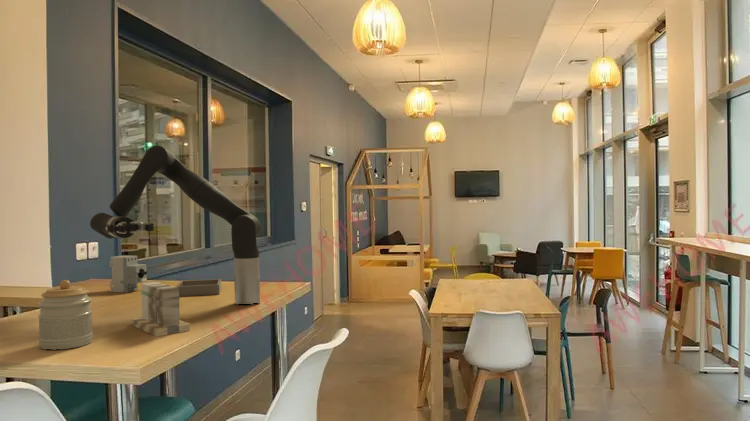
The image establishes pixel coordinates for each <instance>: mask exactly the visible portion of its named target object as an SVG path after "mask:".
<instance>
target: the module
mask: <svg viewBox="0 0 750 421" xmlns="http://www.w3.org/2000/svg"><path fill="white" fill-rule="evenodd" d="M160 284H163V283H162V282H157V281H152V282H141V284H140V285H141V289H140V292H141V317H142V318H143V319H145V320H148V321H149V286H151V285H160Z"/></svg>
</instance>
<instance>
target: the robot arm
mask: <svg viewBox="0 0 750 421" xmlns="http://www.w3.org/2000/svg"><path fill="white" fill-rule="evenodd" d="M156 173H159V174H160V175H162V176H164V177H166V178H167V179H169V180H171V181H172V182H174V184H175V185H177V186H178V187H179V189H180V190H182V192H183V193H184V194H185V195H186V196H187V197H188V198H189V199H190V200H192V201H193V202H194V203H196V205H198V206H199V207H201V208H203V209H204V210H205V211H208V212H209V213H211V214H214V215H215V216H218V217H219V218H221V219H223V220H224V221H226V222H227V223H228V224H230V226H231V229H230V230H231V231H230V232H231V233H230V235H231V248H232V252H233V263H234V266H233V267H234V268H233V269H234V270H233V271H234V304H235V305H238V304H251V305H254V304H253V303H258V304H261V284H260V283H261V280H260V250H259V248H258V245H257V236H258V235H260V233H261V230H262V226H261V222H260V220H259V219H258V217H256V216H255V215H254V214H251V213H250V212H249V211H246V210H245V209H244V208H242V207H240V206H239V205H237V204H236V203H235V202H234V201H233V200H231V199H230V198H229V197H228V196H227V195H226V194H224V192H222V191H221V190H219V188H217V186H215V185H214V184H212V183H211V182H210V181H209V180H207V179H206V178H204V177H203V176H201V175H199V174H198V173H196V172H194V171H192V170H191V169H190V168H188V167H187V166H186V165H185V164H183V163H182V162H181V161H180V160H179V159H178V158H177V157H176V156H175V155H174V154H173V153H172V152H171V151H170V150H169V149H167V148H166V147H164V146H162V145H153V146H151V147H149V148H148V149H147V151H146V152H145V153H144V155H143V157H142V158H141V161H140V163H139V164H138V165H137V167H136V169H135V170H134V172H133V174H132V175H131V177H130V178H129V180H128V182H127V183H126V184H125V186H124V187H123V188H122V190H120V192H119V193H118V195H116V197H115V198H114V199H113V201H112V202H111V203H110V205H109V209H110V210H111V211H112V212H113V213H114V215H116V216H112V215H110V214H108V213H106V212H99V213H98V212H97V214H95V215H93V216H92V218H91V219H90V222H89V225H90V228H91V230H93V231H95V232H96V233H98V234H100V235H101V236H103V237H105V238H106V239H111V240H112V239H114V238H117V239H118V238H120V239H128V238H129V239H130V237H132V236H134V234H137V233H144V232H153V231H155V229H154V223H152V222H150V223H149V222H142V221H140V222H139V221H138V222H137V221H135V220H134V219H133V218H132V217H130V216H128V215H129V213H130V212H131V211H132V210H133V208H135V206H136V205H137V203H138V202H139V200H140V199H141V197H142V195H143V192H144V190H145V189H146V187H147V184H148V183H149V181H150V180H151V179H152V177H153V176H154V175H155V174H156Z"/></svg>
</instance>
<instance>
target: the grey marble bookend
mask: <svg viewBox="0 0 750 421" xmlns="http://www.w3.org/2000/svg"><path fill="white" fill-rule="evenodd" d="M180 313H181V312H180V296H179V288H178V287H176V286H173V285H169V284H165V283H162V284H160V285H151V286H149V321H148V320H145V319H143V318H142V316H140V317H133V318H130V326H132V327H135V328H137V329H139V330H141V331H143V332H146V333H148V334H150V335H152V336H155V337H161V336H165V335H167V336H168V335H171V334H177V333H183V332H184V333H185V332H189V331H190V330H191V328H190V327H191V324H190V323H189V322H186V321H183V320H180V318H181V317H180V315H181V314H180Z"/></svg>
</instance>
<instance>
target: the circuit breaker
mask: <svg viewBox="0 0 750 421" xmlns="http://www.w3.org/2000/svg"><path fill="white" fill-rule="evenodd" d="M109 259H110V261H109V268H111V280H110V282H109V284H110V285H109V286H110V293H112V292H113V293H130V292H133V291H137V290H139V285H138V284H140V283H146V282H148V278H147V277H148V275H147V274H148V270H147V264H146V263H144V264H142V263H138V255H117V256H116V255H115V256H110V257H109Z"/></svg>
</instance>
